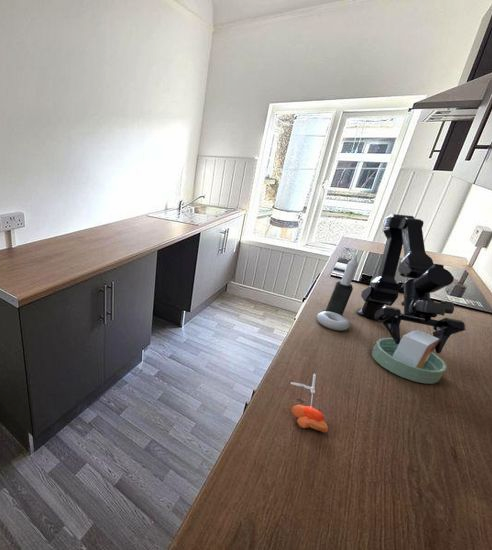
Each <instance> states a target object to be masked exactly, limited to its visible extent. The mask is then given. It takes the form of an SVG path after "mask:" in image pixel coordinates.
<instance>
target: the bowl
mask: <svg viewBox="0 0 492 550" xmlns="http://www.w3.org/2000/svg"><path fill="white" fill-rule="evenodd" d="M400 341H401V339H400ZM398 345H399V344H396V343H395V341H394V340H393V338H392V337H382V338H379V339H378V340H377V341H376V342H375V344H374V346H373V349H372V351H371V356H372V358H373V360H375V362H376V363H377V364H379V365H380V366H381V367H382V368H384V369H385V370H387V371H389V372H390V373H392V374H394V375H397V376H398V377H400V378H403V379H407V380H409V381H412V382H416V383H420V384H430V385H431V384H432V385H434V384H436V383H439V382H440V381H441V378H442V377H443V375H444V373H445V372H446V370H447V364H446V361H444V360H443V359H442V358H441V357H440V356H439V355H437V354H436V353H434V352H432V353H431V355H430V357H429V358H428V360H427V362H426V363H425V365H424V367H423V368H422V369H421V368H417V367H414V366H411V365H408V364H406V363H404V362H401V361H399V360H397V359H395V358H394V357H393V355H394V353H395V351H396V349H397V347H398Z"/></svg>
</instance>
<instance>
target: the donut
mask: <svg viewBox="0 0 492 550" xmlns="http://www.w3.org/2000/svg"><path fill="white" fill-rule="evenodd" d="M316 319H317V322H318V323H319V324H320V325H321V326H323V327H325V328H327V329H330V330H333V331H339V332H340V331H341V332H343V331H346V330H348V329H349V328H350V321H349V319H347V317H345V316H344V315H340V314H337V313H334V312H327V311H326V310H325V311H321V312H319V313H318V314H317V316H316Z"/></svg>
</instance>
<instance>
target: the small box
mask: <svg viewBox="0 0 492 550" xmlns="http://www.w3.org/2000/svg"><path fill="white" fill-rule="evenodd" d="M400 340H401V341H400V343H399V345H398V347H397V349H396V351H395V353H394V355H393V357H394V358H395V359H397V360H399V361H401V362H404V363H406V364H408V365H411V366H414V367H417V368H421V369H422V368H423V367H424V365H425V363H426V362H427V360H428V358H429V357H430V355H431V353H434V350H435V347H436V345H437V343H438V341H439V340H440V339H438V338H436V337H434V336H433V334H432V335H431V334H429V333H427V332H424V331H422V330H419V329H417V328H415V329H413V330H412V331H410V332H407V333H405V334H403V335H402V337H401V338H400Z"/></svg>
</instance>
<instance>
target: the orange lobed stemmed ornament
mask: <svg viewBox="0 0 492 550" xmlns="http://www.w3.org/2000/svg"><path fill="white" fill-rule="evenodd" d="M316 378H317V375H316V373H313V374H312V383H311V386H309V385H306V384H304V383H298V382H294V381H291V382H290V385H293V386H296V387H303V388H305V389H307V390H310V393H311V399H310V405H303V404H296V405H293V406H292V407H291V411H292V412H291V413H292V415H293V416H294V418H296V423H297V424H298V427H300V428H302V429H307V428H310V429H313V430H315V431H319V432H321V433H327V432H328V431H329V428H328V425H327V423H326V422H325V416H324V415H323V413H322V412H321V411H320V410H318V409H316V408H315V407H314V406H313V397H314V394H315V393H316V388H315V386H316Z"/></svg>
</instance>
